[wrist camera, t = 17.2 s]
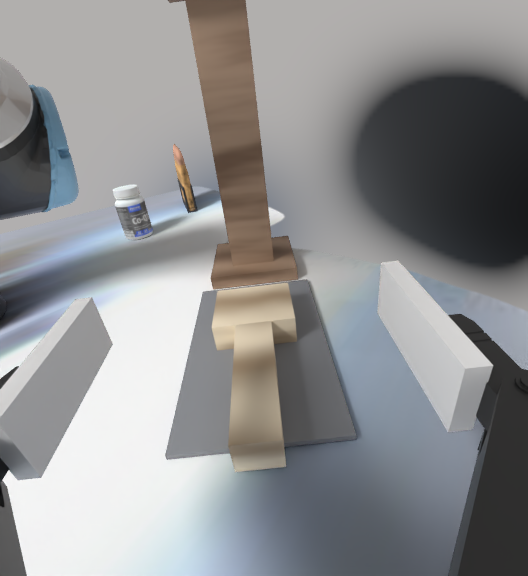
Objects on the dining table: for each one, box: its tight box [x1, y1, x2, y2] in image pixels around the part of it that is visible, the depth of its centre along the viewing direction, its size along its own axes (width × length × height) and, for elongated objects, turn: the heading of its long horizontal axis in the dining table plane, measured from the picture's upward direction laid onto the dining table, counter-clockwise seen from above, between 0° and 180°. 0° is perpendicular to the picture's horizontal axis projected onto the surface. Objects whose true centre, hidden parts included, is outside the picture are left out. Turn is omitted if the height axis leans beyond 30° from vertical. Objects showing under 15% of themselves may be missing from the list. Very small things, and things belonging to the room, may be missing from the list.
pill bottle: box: [113, 185, 153, 240], centre depth 57 cm, size 5×5×8 cm
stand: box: [168, 0, 298, 289], centre depth 36 cm, size 10×10×30 cm
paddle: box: [212, 283, 297, 472], centre depth 26 cm, size 17×7×2 cm, turn 2°
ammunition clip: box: [173, 144, 197, 213], centre depth 69 cm, size 11×2×12 cm, turn 18°
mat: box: [165, 280, 356, 459], centre depth 29 cm, size 20×12×1 cm, turn 2°
